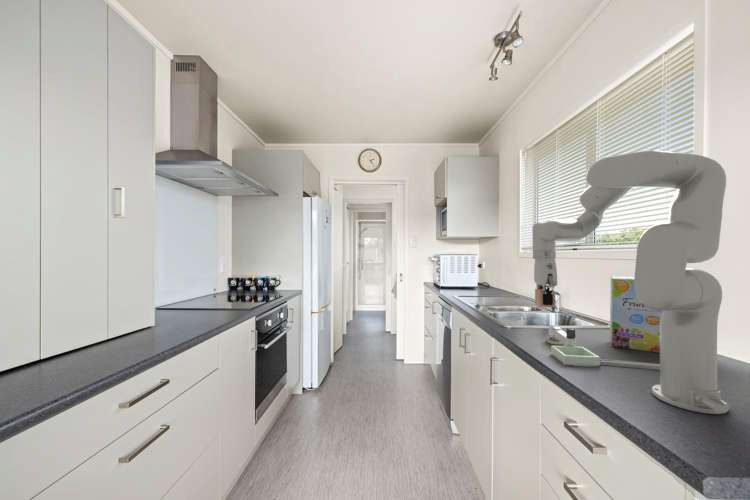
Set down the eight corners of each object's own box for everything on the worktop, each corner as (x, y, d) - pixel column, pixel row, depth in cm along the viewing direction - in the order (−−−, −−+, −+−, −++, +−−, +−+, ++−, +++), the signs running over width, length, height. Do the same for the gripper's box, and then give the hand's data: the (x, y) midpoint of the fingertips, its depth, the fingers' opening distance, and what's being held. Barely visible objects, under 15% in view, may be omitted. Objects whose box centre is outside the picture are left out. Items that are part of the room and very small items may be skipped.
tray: (599, 366, 93) (599, 357, 93) (564, 365, 94) (564, 355, 94) (582, 355, 103) (582, 346, 103) (551, 354, 104) (551, 345, 104)
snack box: (611, 347, 111) (611, 277, 111) (609, 341, 118) (608, 275, 118) (695, 358, 99) (694, 280, 99) (686, 351, 106) (686, 278, 106)
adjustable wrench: (594, 365, 95) (594, 360, 95) (589, 358, 101) (589, 353, 101) (700, 378, 85) (700, 371, 85) (688, 369, 91) (688, 363, 91)
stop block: (554, 307, 111) (554, 290, 111) (540, 306, 111) (539, 290, 111) (549, 304, 115) (548, 289, 115) (535, 304, 116) (535, 288, 116)
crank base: (567, 345, 114) (567, 342, 114) (550, 344, 115) (550, 342, 115) (560, 340, 120) (560, 338, 120) (543, 340, 121) (543, 337, 121)
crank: (546, 337, 120) (546, 319, 120) (558, 337, 119) (558, 319, 119) (565, 350, 104) (565, 329, 104) (579, 351, 103) (579, 330, 103)
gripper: (565, 255, 104) (566, 307, 104) (545, 254, 121) (546, 300, 121) (542, 255, 106) (542, 307, 106) (525, 255, 122) (526, 299, 122)
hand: (544, 303), depth 113 cm, fingers closed on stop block, 5 cm apart
